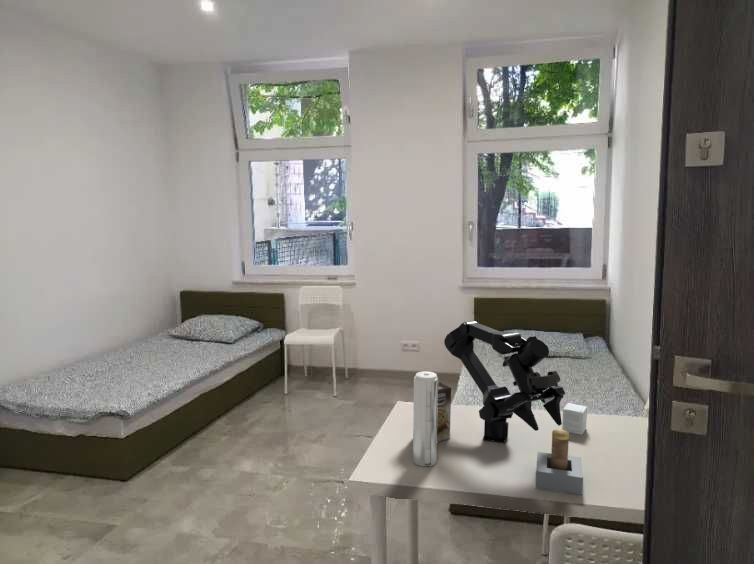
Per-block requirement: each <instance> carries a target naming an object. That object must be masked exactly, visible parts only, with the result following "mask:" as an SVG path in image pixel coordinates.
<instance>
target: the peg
mask: <svg viewBox="0 0 754 564" xmlns="http://www.w3.org/2000/svg"><path fill="white" fill-rule="evenodd" d="M569 441H570V432H567V431H565V430H562V429H560V428H558V429H553V430H552V431H551V452H550V453H551V469H558V470H565V471H567V463H568V456H569V443H570V442H569Z"/></svg>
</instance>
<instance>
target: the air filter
mask: <svg viewBox="0 0 754 564" xmlns="http://www.w3.org/2000/svg"><path fill="white" fill-rule="evenodd" d="M438 383H439V377H438V375H437V373H436V372H433V371H419V372H416V374H415V376H414V377H413V413H412V414H413V415H412V416H413V417H412V419H413V420H412V421H413V423H412V425H413V426H412V430H413V431H412V432H413V433H412V434H413V435H412V461H413V463H414V464H415V465H416V466H418V465H419V467H423V466H429V467H432V465H433V466H435V465H436V464H437V457H438V455H437V454H438V452H437V451H438V442H437V411H438ZM435 463H436V464H435Z"/></svg>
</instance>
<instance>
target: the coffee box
mask: <svg viewBox="0 0 754 564" xmlns="http://www.w3.org/2000/svg"><path fill="white" fill-rule="evenodd" d="M451 404H452V388H451V387H450V386H448V385H446V384H444V383H442V382H440V381H438V411H437V441H439V442H442V441H441V440H443V441H446V439H447V440H450V439H451V411H452V410H451V409H452V408H451V407H452V405H451ZM449 438H450V439H449Z"/></svg>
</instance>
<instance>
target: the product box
mask: <svg viewBox="0 0 754 564" xmlns="http://www.w3.org/2000/svg"><path fill="white" fill-rule="evenodd" d="M587 418H588V406H587V405H586V406H585V405H580V404H574V403H570V402H568V403H567V404H565V406H564V407H563V409H562V425H561V427H562V429H561V430H565V431H567V432H569V434H570V433H571V434H575V435H581V436H583V435H584V432H585V431H586V429H587V422H588V421H587Z"/></svg>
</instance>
